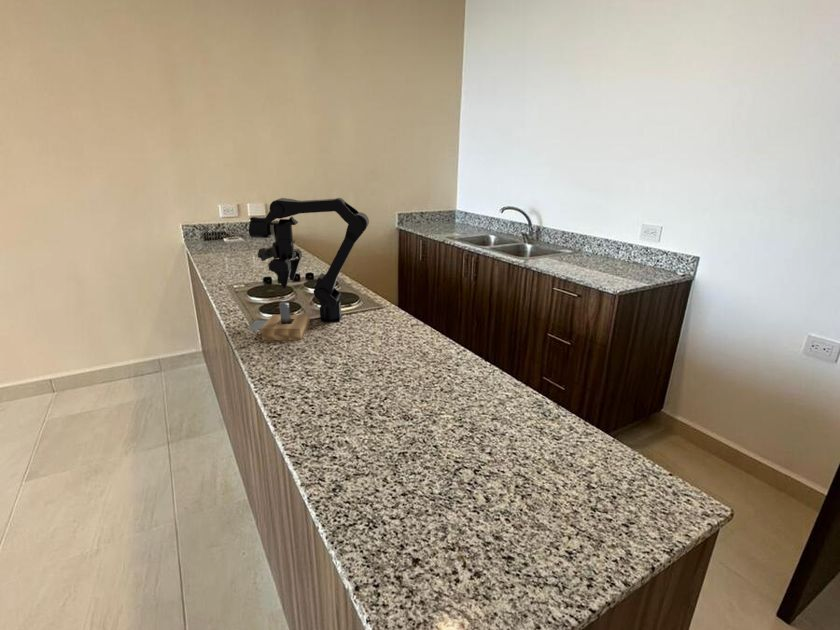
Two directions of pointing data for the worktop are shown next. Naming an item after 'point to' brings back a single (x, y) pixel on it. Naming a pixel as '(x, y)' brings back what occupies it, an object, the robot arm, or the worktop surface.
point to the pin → (285, 313)
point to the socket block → (285, 328)
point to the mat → (257, 325)
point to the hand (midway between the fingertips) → (288, 284)
